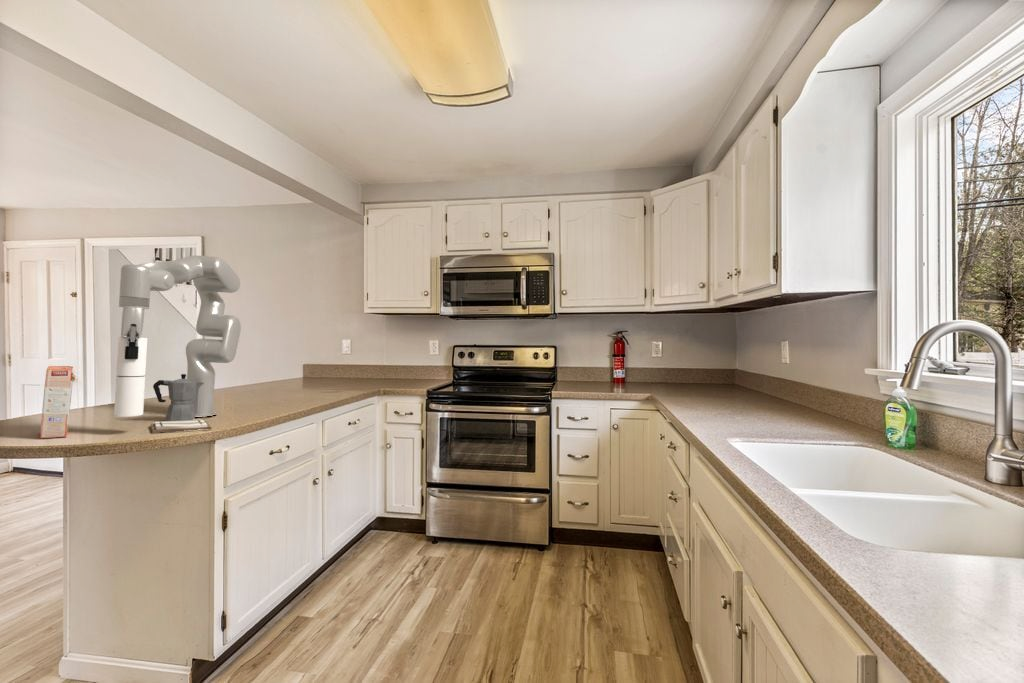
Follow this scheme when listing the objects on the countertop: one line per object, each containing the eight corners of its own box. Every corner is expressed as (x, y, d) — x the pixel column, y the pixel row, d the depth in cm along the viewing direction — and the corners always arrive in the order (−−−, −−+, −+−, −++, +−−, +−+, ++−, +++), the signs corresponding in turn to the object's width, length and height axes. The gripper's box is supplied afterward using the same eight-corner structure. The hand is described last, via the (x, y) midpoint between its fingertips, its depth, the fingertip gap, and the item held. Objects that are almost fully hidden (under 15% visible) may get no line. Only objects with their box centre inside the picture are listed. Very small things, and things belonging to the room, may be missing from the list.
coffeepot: (200, 418, 177) (203, 373, 178) (202, 422, 170) (205, 375, 170) (150, 420, 167) (153, 372, 168) (150, 424, 160) (154, 374, 161)
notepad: (150, 426, 157) (150, 421, 157) (205, 423, 167) (205, 418, 167) (152, 433, 146) (152, 427, 146) (210, 430, 157) (211, 424, 157)
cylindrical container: (112, 417, 139) (117, 337, 139) (115, 413, 145) (120, 336, 145) (142, 416, 143) (146, 338, 144) (143, 412, 149) (148, 337, 149)
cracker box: (68, 437, 134) (73, 368, 135) (39, 439, 130) (44, 367, 131) (68, 430, 145) (73, 365, 145) (41, 431, 140) (47, 365, 141)
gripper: (119, 303, 148) (116, 356, 148) (118, 301, 135) (115, 359, 135) (148, 305, 153) (145, 357, 153) (150, 303, 140) (147, 360, 140)
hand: (131, 358), depth 144 cm, fingers closed on cylindrical container, 7 cm apart
